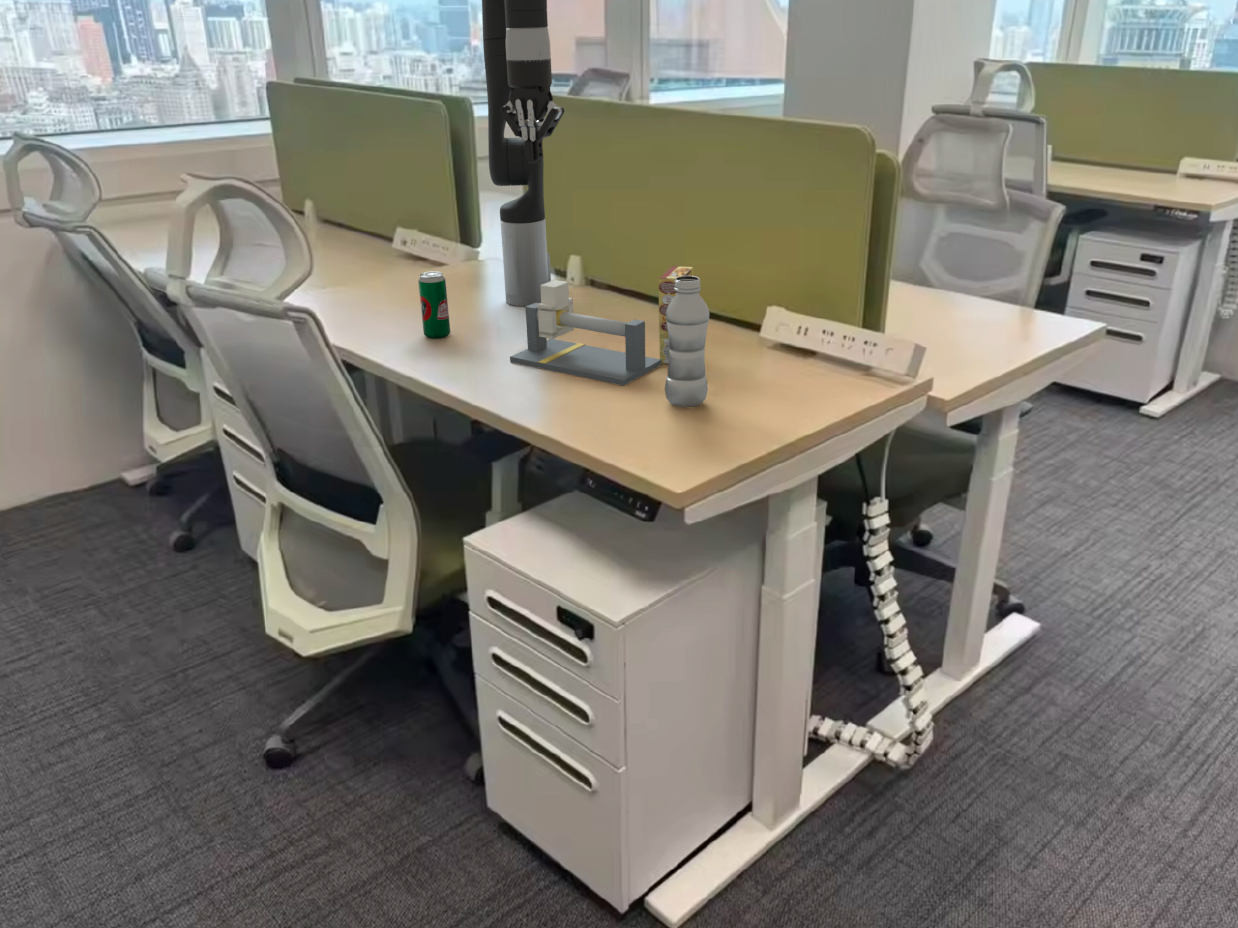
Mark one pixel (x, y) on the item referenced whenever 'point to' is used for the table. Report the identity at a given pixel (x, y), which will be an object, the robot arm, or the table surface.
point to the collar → (553, 308)
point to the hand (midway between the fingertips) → (534, 162)
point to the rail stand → (588, 349)
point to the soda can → (434, 305)
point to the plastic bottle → (687, 344)
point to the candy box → (665, 299)
